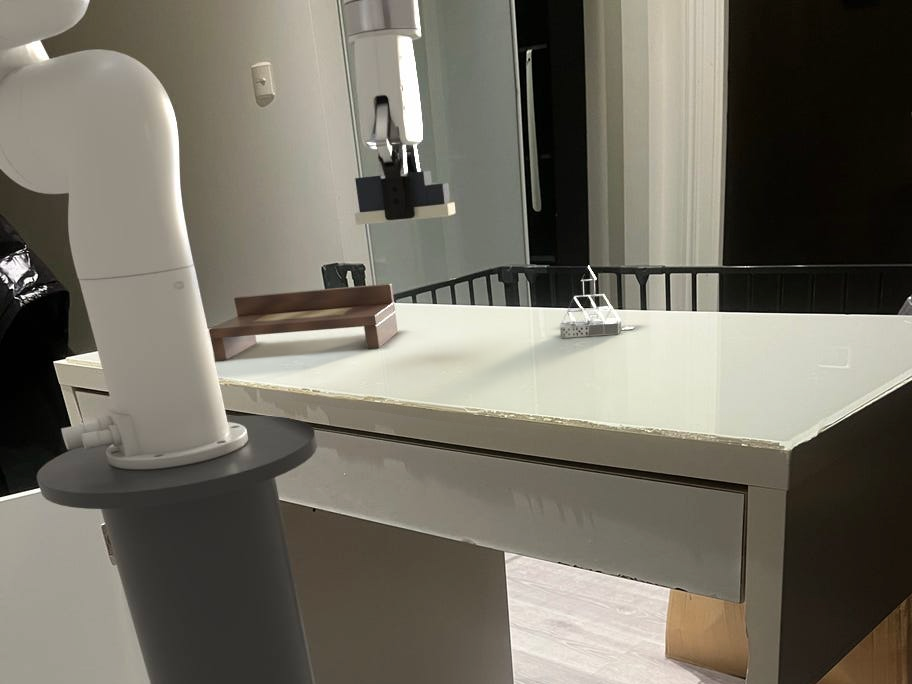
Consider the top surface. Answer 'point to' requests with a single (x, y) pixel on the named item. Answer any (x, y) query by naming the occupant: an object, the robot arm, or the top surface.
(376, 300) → the wooden bench
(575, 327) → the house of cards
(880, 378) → the top surface
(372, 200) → the stepped dark grey block
